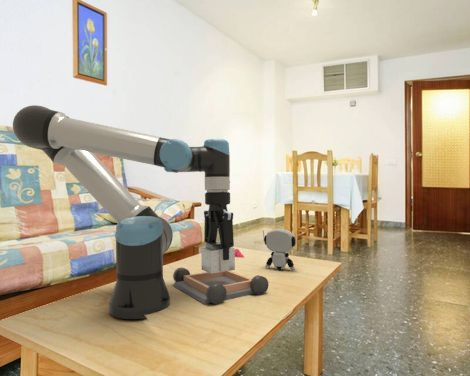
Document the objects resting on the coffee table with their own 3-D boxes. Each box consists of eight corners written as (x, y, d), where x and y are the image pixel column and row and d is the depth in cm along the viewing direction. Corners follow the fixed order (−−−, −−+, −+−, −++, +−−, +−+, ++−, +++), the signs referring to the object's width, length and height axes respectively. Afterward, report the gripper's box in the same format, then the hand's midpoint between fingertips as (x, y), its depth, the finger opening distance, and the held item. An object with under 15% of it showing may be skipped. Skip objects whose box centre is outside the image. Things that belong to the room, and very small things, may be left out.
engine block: (211, 273, 99) (210, 245, 99) (201, 269, 104) (201, 242, 104) (234, 269, 103) (234, 243, 103) (224, 266, 108) (224, 240, 108)
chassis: (208, 306, 88) (208, 286, 88) (171, 284, 108) (171, 268, 108) (269, 292, 99) (269, 275, 99) (226, 275, 119) (226, 260, 119)
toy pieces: (226, 262, 142) (226, 251, 142) (236, 257, 152) (236, 247, 152) (254, 264, 137) (253, 253, 137) (262, 258, 148) (262, 248, 148)
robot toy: (298, 270, 125) (298, 228, 125) (295, 273, 121) (294, 230, 121) (266, 267, 131) (266, 227, 131) (262, 270, 127) (261, 228, 126)
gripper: (245, 191, 98) (247, 273, 98) (212, 191, 114) (214, 261, 114) (223, 191, 94) (224, 277, 94) (192, 191, 110) (193, 264, 110)
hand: (218, 268), depth 104 cm, fingers closed on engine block, 6 cm apart
